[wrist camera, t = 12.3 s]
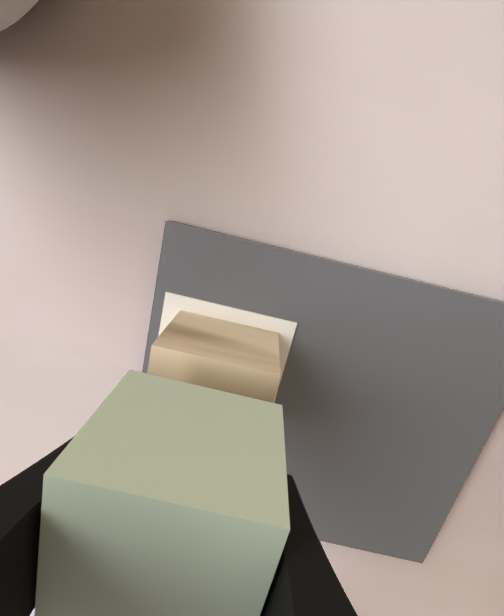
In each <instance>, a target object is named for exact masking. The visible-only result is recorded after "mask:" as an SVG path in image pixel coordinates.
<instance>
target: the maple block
mask: <svg viewBox="0 0 504 616" xmlns="http://www.w3.org/2000/svg"><path fill="white" fill-rule="evenodd" d="M147 374H151V375H155V376H160V377H164V378H168V379H172V380H177V381H181V382H185V383H190V384H194V385H198V386H203V387H207V388H211V389H215V390H220V391H224V392H228V393H233V394H237V395H241V396H246V397H250V398H254V399H258V400H263V401H267V402H271V403H273V401H274V397H275V394H276V390H277V387H278V383H279V380H280V376H281V369H280V355H279V341H278V332H274V331H269V330H265V329H261V328H256V327H252V326H248V325H243V324H239V323H235V322H230V321H226V320H222V319H217V318H213V317H208V316H204V315H200V314H195V313H191V312H187V311H182V310H180V311H179V312H178V313H177V315H176V316H175V317H174V318H173V319H172V321H171V322H170V323H169V324H168V326H167V327H166V328H165V329H164V330H163V332H162V333H161V334H160V335H159V337H158V338H157V339H156V340H155V341H154V343H153V344H152V345H151V352H150V358H149V365H148V371H147Z"/></svg>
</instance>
